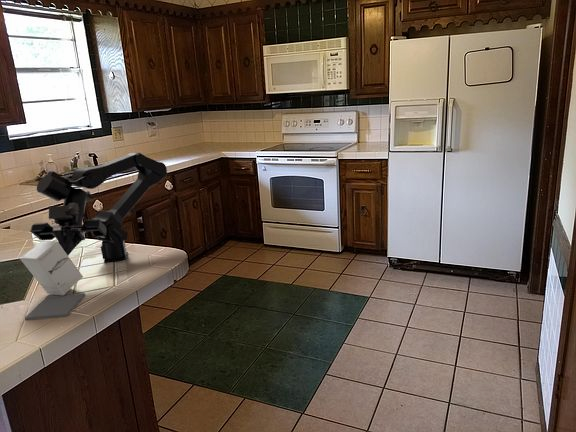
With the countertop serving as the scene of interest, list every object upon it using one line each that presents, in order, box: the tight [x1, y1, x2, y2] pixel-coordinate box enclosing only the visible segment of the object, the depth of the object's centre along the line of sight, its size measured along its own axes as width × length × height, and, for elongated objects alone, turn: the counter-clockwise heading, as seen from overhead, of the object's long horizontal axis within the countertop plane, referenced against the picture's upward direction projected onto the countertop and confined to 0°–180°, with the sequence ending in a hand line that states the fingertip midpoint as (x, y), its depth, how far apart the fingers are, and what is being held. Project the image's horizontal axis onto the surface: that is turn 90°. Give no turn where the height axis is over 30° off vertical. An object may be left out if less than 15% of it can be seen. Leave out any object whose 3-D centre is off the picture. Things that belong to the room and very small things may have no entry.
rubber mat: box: [24, 292, 86, 321], centre depth 110 cm, size 11×10×1 cm
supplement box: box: [19, 240, 84, 296], centre depth 116 cm, size 7×7×13 cm
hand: (63, 257), depth 119 cm, fingers closed
